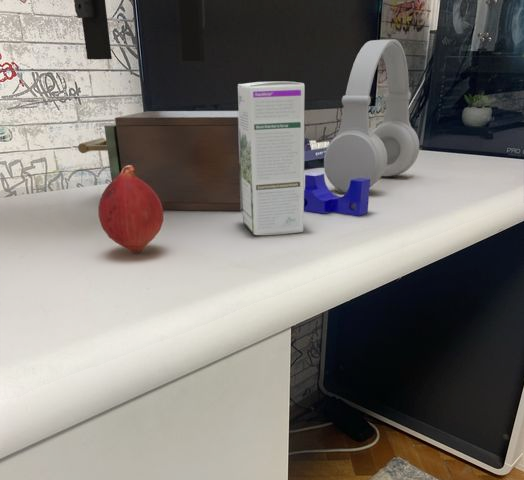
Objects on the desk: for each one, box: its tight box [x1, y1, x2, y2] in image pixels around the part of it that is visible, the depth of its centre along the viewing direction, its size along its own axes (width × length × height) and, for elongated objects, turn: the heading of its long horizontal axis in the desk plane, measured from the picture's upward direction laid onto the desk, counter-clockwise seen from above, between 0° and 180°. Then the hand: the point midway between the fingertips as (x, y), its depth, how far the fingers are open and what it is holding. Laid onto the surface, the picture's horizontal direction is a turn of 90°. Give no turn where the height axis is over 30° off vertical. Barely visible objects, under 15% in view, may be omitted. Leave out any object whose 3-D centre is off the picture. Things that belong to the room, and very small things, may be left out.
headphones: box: [323, 39, 420, 194], centre depth 78 cm, size 20×8×19 cm, turn 149°
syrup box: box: [237, 80, 306, 236], centre depth 56 cm, size 6×6×14 cm
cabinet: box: [114, 110, 243, 212], centre depth 71 cm, size 15×13×11 cm
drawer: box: [77, 122, 122, 182], centre depth 71 cm, size 18×12×9 cm, turn 84°
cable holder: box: [304, 172, 371, 217], centre depth 65 cm, size 8×4×4 cm, turn 51°
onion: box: [98, 165, 164, 254], centre depth 49 cm, size 6×6×8 cm
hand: (150, 60), depth 57 cm, fingers open, 13 cm apart
